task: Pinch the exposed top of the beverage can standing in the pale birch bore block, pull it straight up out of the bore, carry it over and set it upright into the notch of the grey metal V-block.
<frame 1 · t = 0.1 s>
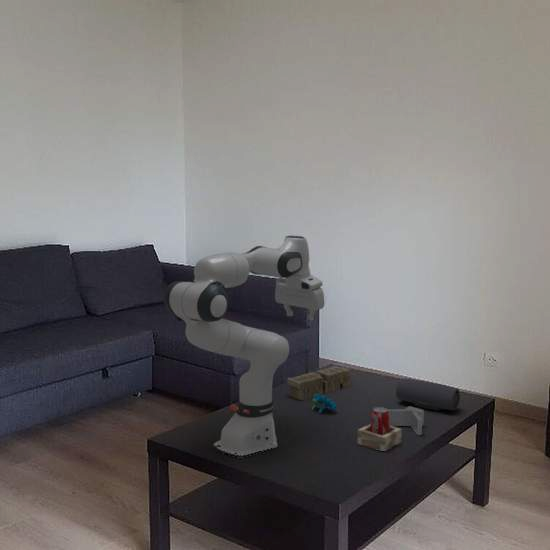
hand: (300, 318, 259), 39 cm above the table, tool pointing down, fingers open, 8 cm apart
bore block: (379, 443, 246), on the table
blue toy figure: (324, 411, 277), on the table
bluetooth speaker: (427, 407, 281), on the table
beverage can: (379, 443, 246), on the table
block tower: (319, 392, 299), on the table
v-block: (401, 431, 256), on the table
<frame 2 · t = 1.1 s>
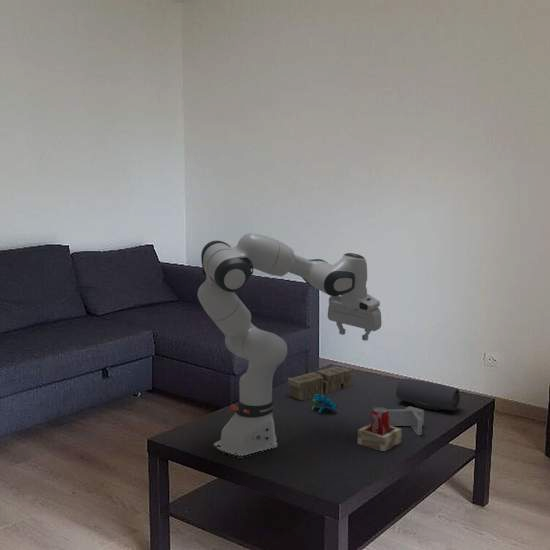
hand: (353, 336, 254), 34 cm above the table, tool pointing down, fingers open, 8 cm apart
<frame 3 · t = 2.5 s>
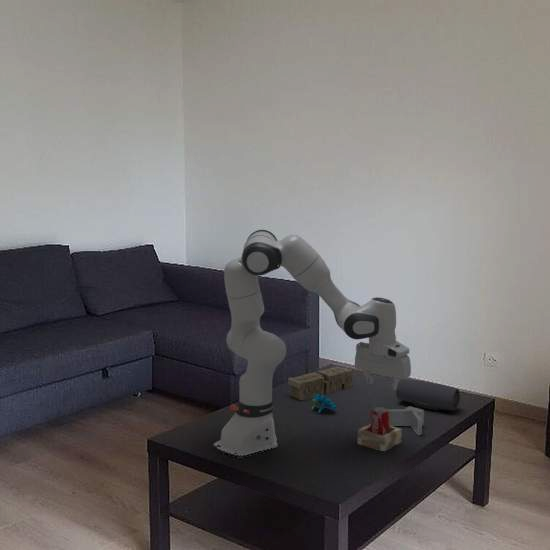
hand: (381, 386, 243), 20 cm above the table, tool pointing down, fingers open, 8 cm apart
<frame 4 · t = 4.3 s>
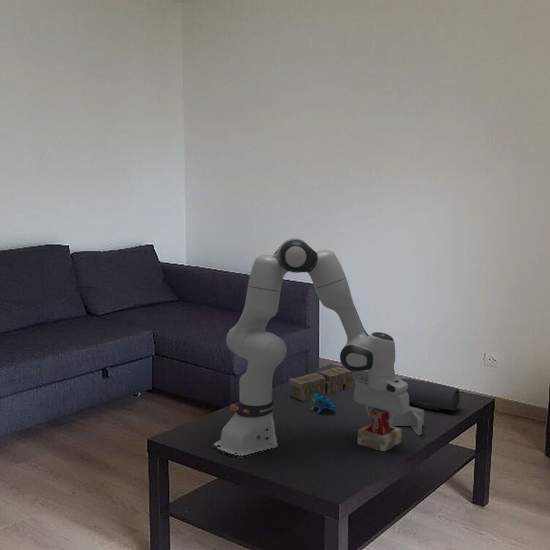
hand: (380, 420, 245), 8 cm above the table, tool pointing down, fingers closed on beverage can, 6 cm apart
beverage can: (379, 443, 246), on the table, touching gripper
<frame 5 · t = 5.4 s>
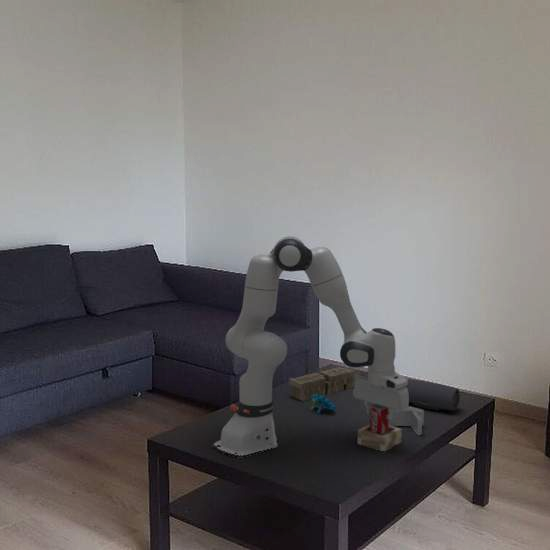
hand: (379, 416, 244), 10 cm above the table, tool pointing down, fingers closed on beverage can, 6 cm apart
beverage can: (378, 440, 246), point 1 cm above the table, touching gripper
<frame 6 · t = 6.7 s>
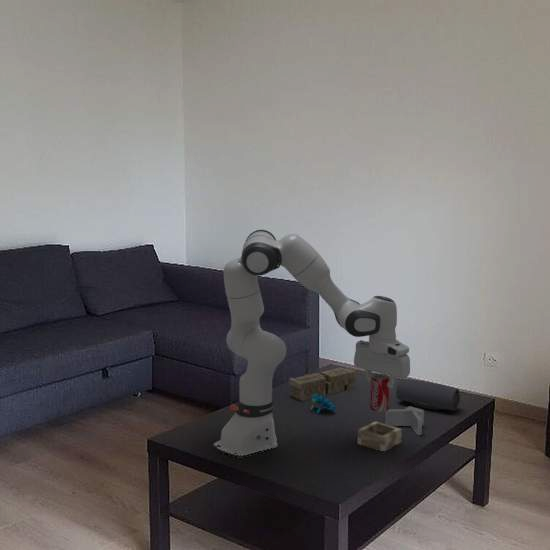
hand: (380, 385, 243), 21 cm above the table, tool pointing down, fingers closed on beverage can, 6 cm apart
beverage can: (379, 411, 244), point 11 cm above the table, touching gripper
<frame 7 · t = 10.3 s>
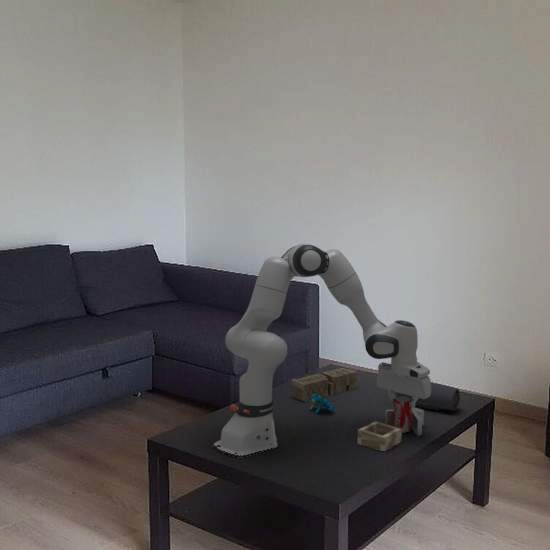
hand: (402, 405, 255), 10 cm above the table, tool pointing down, fingers closed on beverage can, 6 cm apart
beverage can: (401, 431, 257), on the table, touching gripper
block tower: (324, 394, 297), on the table
when the fingers open (10 cm above the table, at t = 11.1 s): beverage can stays where it is, on the table.
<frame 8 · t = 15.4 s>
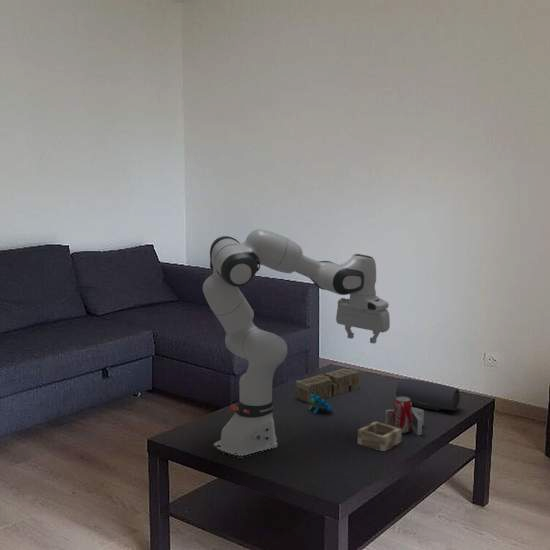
hand: (361, 340, 251), 33 cm above the table, tool pointing down, fingers open, 8 cm apart
beverage can: (401, 431, 257), on the table
block tower: (327, 394, 296), on the table
at the end: beverage can 0.4 cm from the v-block (horizontally); beverage can tilted 0°; the gripper is holding nothing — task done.
